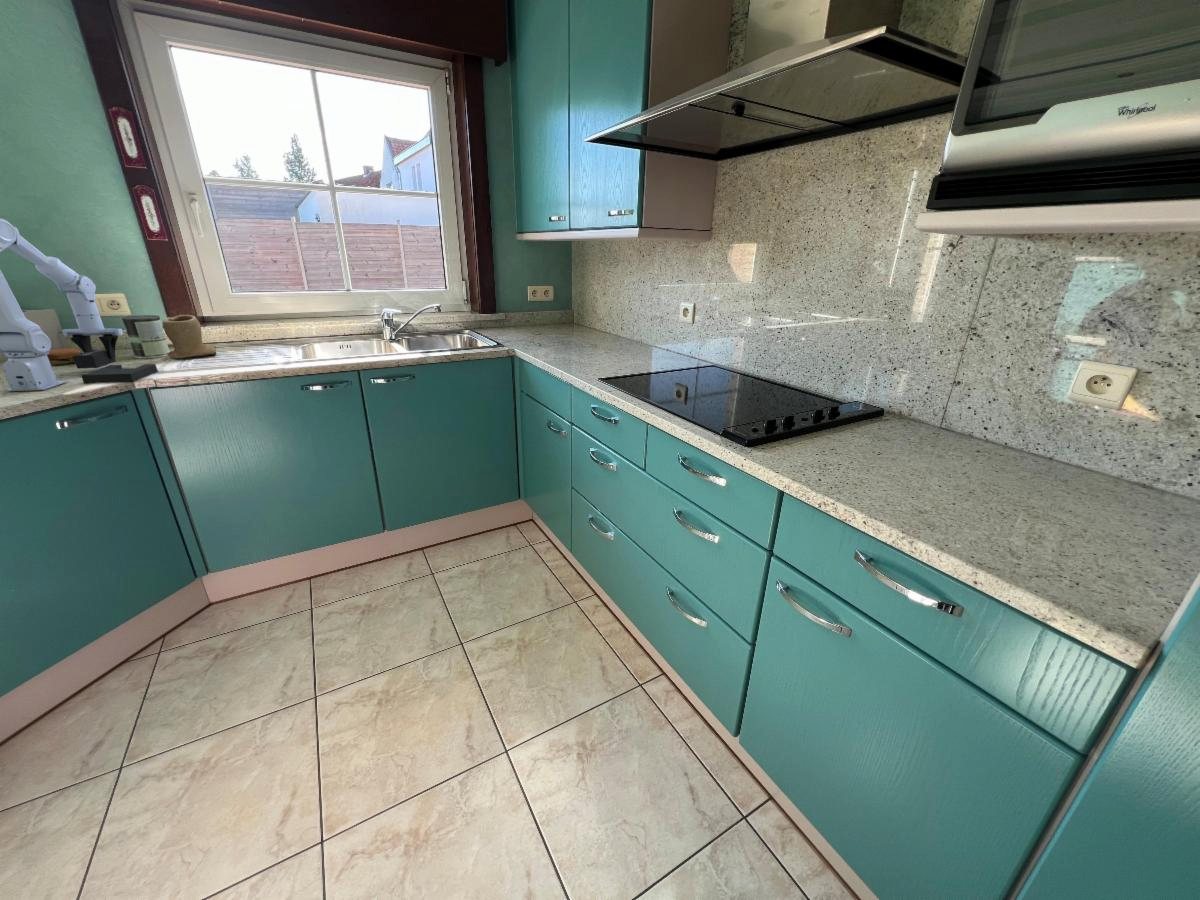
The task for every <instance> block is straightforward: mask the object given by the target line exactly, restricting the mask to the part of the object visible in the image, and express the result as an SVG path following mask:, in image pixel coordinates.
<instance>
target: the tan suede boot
mask: <svg viewBox="0 0 1200 900" xmlns="http://www.w3.org/2000/svg"><path fill="white" fill-rule="evenodd" d="M161 324H162V327H163V331H164V334H165V336H166V338H168V340H169V341H170V342H171V344H172V345H173V348H174V349H173V350H171V351H170V352H169V353H168V354H167V355H168V356H167V357H169V358H172V359H186V358H187V359H188V358H196V357H206V356H213V355H216V354H217V347H216V345H215V344H205V343H203V338H202V337H203V336H202V335H203V334H202V325H201V322H200V321H199V320H198V318H197V317H196V316H194V315H191V314H179V315H175V316H173V317H172V316H170V317H169V316H167V317H166V318H164V319H163V320H162V321H161Z"/></svg>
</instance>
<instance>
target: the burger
mask: <svg viewBox="0 0 1200 900" xmlns="http://www.w3.org/2000/svg"><path fill="white" fill-rule="evenodd" d="M81 353H83V351H81V350H80V349H78V348H75V347H72V348H55V349H50V351H49V354H47V357H48V359H49V362H50V364H51V366H63V365H69V364H75V361H74V358H73V355H77V354H81Z"/></svg>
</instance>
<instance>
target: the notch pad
mask: <svg viewBox="0 0 1200 900" xmlns="http://www.w3.org/2000/svg"><path fill="white" fill-rule="evenodd" d="M158 372H159V371H158V368H157V364H156V363H146V364H142V365H139V366H137V367H136V366H135V367H129V368H126V367H125V368H123V366H122V364H108V365H106V366H103V367H100V368H97V369H95V370H92V371H90V372H85V373H83V374H81V376H80V377H81V379H82V382H83V384H104V383H106V384H108V383H133V382H135V381H138V380H141V379H143V378H145V377H148V376H150V375H153V374H155V373H158Z"/></svg>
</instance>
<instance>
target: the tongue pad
mask: <svg viewBox="0 0 1200 900" xmlns="http://www.w3.org/2000/svg"><path fill="white" fill-rule="evenodd" d="M73 358H74V361H75V363H74V364H75V366H76V369H99V368H102V367H105V366H108V365H111V364H113V363H117V359H116V356H115V357H114V358H109V357H108V355H107V352H106V349H93V350H92V351H88V352H82V353H81V354H77V355H73Z"/></svg>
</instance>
